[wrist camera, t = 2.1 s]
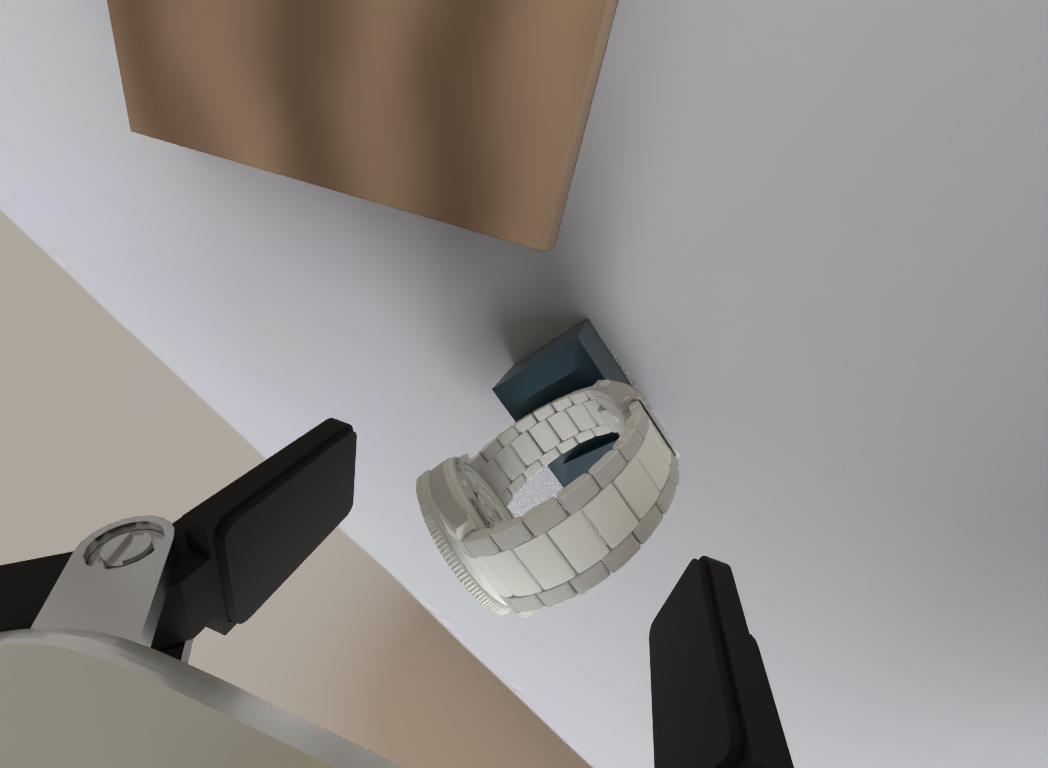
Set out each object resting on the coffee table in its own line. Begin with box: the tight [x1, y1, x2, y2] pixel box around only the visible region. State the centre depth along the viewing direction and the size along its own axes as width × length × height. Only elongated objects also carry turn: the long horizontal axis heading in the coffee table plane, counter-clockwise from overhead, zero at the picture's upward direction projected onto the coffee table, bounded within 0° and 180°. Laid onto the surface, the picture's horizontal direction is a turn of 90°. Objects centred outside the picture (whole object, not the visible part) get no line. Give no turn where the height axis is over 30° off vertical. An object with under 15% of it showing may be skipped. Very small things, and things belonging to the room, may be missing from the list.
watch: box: [416, 319, 680, 617], centre depth 14 cm, size 6×8×11 cm
